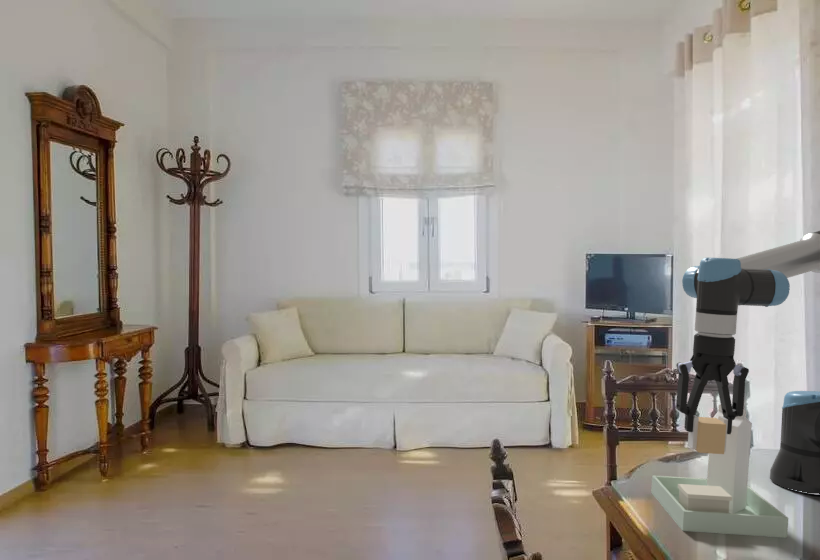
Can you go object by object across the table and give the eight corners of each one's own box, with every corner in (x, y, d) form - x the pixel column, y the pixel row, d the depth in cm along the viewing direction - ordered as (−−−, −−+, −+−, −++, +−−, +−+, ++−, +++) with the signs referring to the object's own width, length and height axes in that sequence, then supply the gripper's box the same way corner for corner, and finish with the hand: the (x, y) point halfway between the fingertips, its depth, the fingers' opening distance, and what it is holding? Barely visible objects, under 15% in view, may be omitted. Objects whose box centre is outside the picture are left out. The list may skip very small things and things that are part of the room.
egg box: (718, 518, 134) (720, 486, 133) (729, 530, 128) (732, 496, 128) (675, 515, 134) (677, 483, 134) (685, 527, 128) (687, 494, 128)
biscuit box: (713, 446, 133) (715, 417, 132) (724, 454, 128) (726, 424, 127) (688, 445, 133) (690, 416, 133) (698, 452, 128) (700, 422, 128)
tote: (740, 500, 146) (742, 480, 145) (786, 540, 126) (788, 518, 125) (650, 494, 147) (652, 475, 147) (682, 533, 127) (683, 511, 127)
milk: (732, 515, 136) (739, 412, 134) (704, 504, 141) (711, 405, 139) (746, 508, 139) (753, 408, 138) (719, 499, 144) (725, 402, 143)
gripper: (752, 334, 132) (743, 445, 133) (662, 329, 133) (655, 440, 134) (770, 339, 125) (761, 457, 126) (675, 334, 126) (667, 451, 127)
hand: (706, 448), depth 130 cm, fingers closed on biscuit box, 5 cm apart
